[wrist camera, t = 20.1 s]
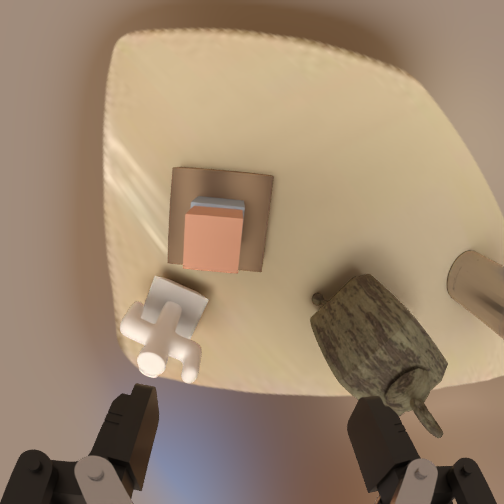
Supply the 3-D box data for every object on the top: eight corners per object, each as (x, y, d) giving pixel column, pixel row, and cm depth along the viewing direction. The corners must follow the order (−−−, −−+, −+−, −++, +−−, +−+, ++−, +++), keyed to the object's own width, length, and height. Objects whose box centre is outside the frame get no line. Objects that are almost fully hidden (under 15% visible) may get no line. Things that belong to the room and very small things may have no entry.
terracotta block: (237, 256, 28) (237, 273, 24) (191, 252, 28) (182, 268, 23) (242, 209, 27) (243, 218, 22) (193, 205, 26) (185, 214, 22)
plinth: (269, 175, 35) (273, 176, 31) (259, 261, 38) (261, 272, 34) (179, 167, 34) (172, 167, 30) (174, 252, 37) (167, 263, 33)
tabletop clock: (298, 296, 40) (359, 446, 16) (345, 250, 38) (462, 362, 14) (355, 348, 43) (423, 471, 19) (397, 310, 41) (490, 416, 17)
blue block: (243, 200, 31) (244, 207, 27) (238, 244, 33) (239, 258, 28) (198, 196, 31) (190, 202, 26) (194, 240, 32) (187, 253, 28)
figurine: (154, 261, 37) (112, 317, 23) (218, 290, 39) (209, 360, 24) (139, 304, 39) (99, 370, 25) (199, 331, 40) (184, 406, 26)
